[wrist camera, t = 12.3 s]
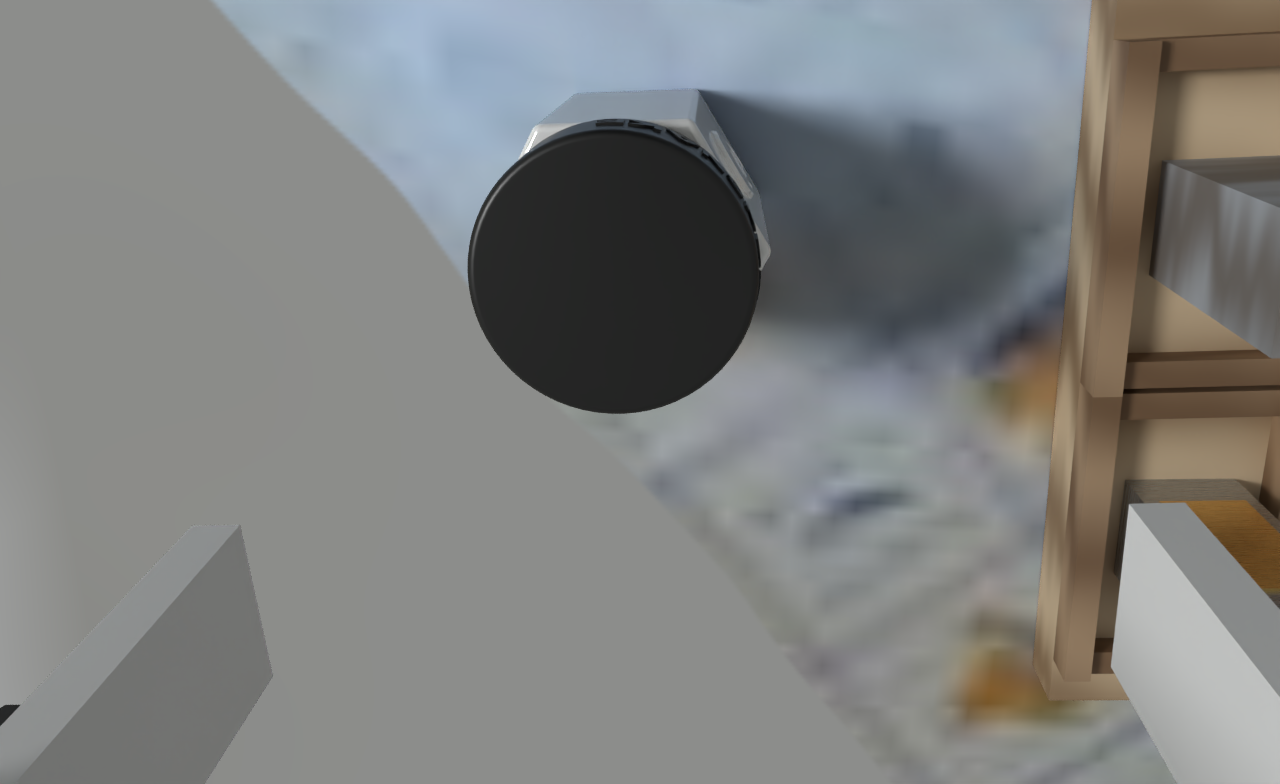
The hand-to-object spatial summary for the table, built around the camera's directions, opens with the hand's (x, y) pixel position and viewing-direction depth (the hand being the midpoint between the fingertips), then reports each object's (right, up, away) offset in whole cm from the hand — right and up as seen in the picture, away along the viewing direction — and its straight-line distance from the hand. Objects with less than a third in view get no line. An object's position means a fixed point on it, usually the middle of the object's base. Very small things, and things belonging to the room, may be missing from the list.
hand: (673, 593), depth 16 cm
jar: (-1, +10, +25) cm, 27 cm away
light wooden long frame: (+20, +4, +25) cm, 33 cm away
